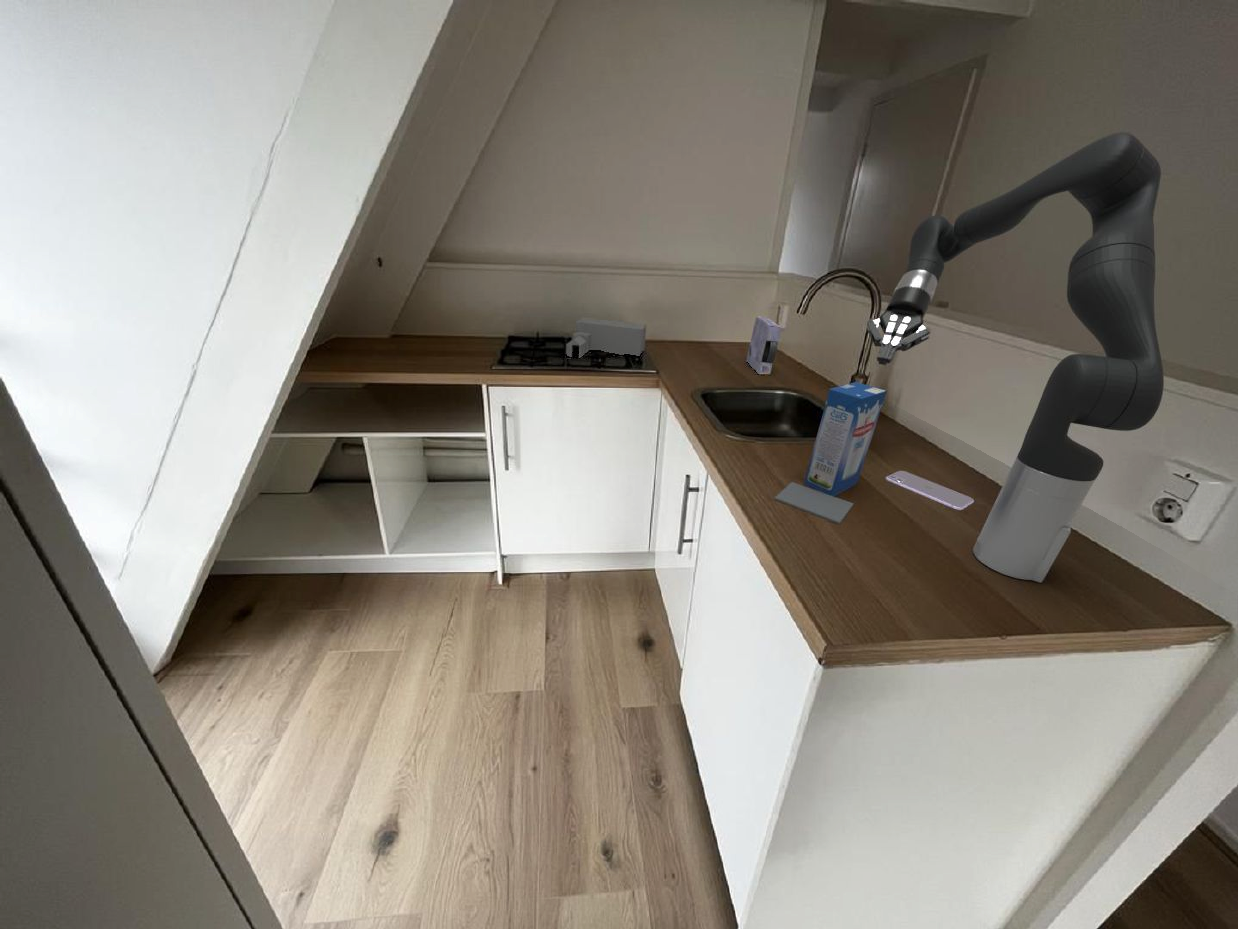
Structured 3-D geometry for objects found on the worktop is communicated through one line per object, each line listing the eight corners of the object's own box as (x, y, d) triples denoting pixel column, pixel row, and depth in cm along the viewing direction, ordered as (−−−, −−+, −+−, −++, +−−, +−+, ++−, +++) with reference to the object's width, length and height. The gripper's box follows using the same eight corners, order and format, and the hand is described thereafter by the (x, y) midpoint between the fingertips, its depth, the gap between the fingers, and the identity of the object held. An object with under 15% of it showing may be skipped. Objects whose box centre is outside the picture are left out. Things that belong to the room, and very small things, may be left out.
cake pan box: (772, 377, 173) (783, 326, 165) (758, 376, 172) (768, 325, 165) (757, 363, 190) (767, 316, 182) (745, 362, 190) (754, 315, 182)
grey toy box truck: (565, 358, 176) (565, 327, 171) (582, 345, 197) (583, 317, 192) (633, 366, 172) (636, 335, 168) (643, 352, 193) (646, 324, 188)
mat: (853, 505, 92) (853, 503, 92) (839, 524, 86) (840, 522, 86) (791, 483, 99) (791, 481, 99) (774, 499, 92) (774, 497, 92)
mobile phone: (961, 508, 93) (884, 476, 104) (959, 512, 94) (883, 480, 104) (976, 498, 98) (901, 468, 108) (974, 502, 98) (900, 472, 109)
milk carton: (828, 472, 105) (855, 381, 96) (856, 484, 101) (887, 390, 92) (803, 483, 99) (829, 388, 90) (832, 497, 95) (862, 398, 86)
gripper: (943, 313, 106) (914, 379, 102) (878, 304, 113) (849, 365, 109) (949, 289, 100) (919, 358, 96) (880, 281, 107) (849, 345, 103)
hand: (882, 362), depth 103 cm, fingers closed
